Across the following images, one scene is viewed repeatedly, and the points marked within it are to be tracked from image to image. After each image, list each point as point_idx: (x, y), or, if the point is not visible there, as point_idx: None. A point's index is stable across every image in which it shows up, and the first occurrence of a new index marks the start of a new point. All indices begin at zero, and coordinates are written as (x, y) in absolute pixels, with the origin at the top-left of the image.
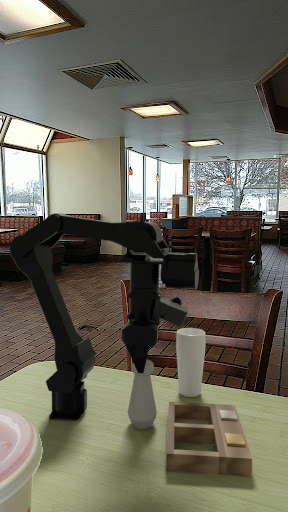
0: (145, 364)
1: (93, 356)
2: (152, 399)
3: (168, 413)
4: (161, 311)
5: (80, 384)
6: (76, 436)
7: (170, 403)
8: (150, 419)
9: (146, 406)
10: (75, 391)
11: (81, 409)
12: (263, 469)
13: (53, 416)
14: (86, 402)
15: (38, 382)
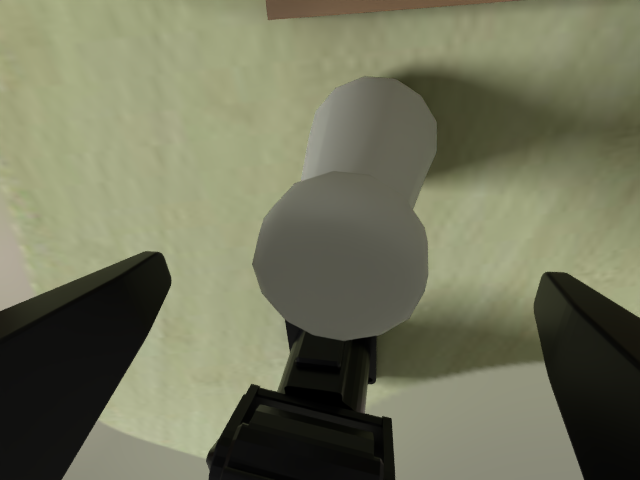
0: (396, 269)
1: (261, 476)
2: (393, 115)
3: (397, 8)
4: None
5: (312, 394)
6: (461, 313)
7: (286, 7)
8: (424, 101)
9: (424, 138)
10: (348, 395)
11: None
12: None
13: (374, 375)
14: None
15: (198, 414)
